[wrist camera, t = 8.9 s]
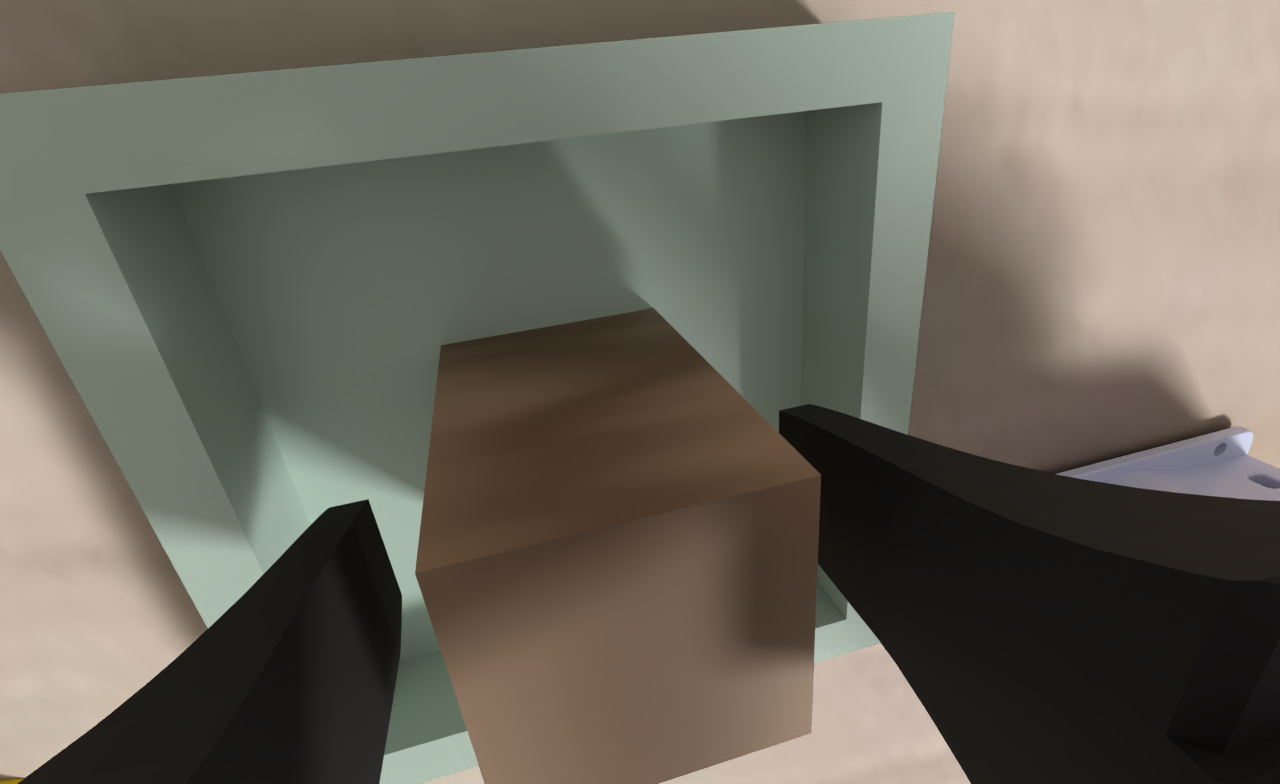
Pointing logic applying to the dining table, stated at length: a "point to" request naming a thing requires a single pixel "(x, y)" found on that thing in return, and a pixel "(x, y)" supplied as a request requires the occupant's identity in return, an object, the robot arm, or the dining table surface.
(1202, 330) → the dining table surface
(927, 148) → the bin
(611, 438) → the walnut block
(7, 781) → the candy box
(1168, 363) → the dining table surface
